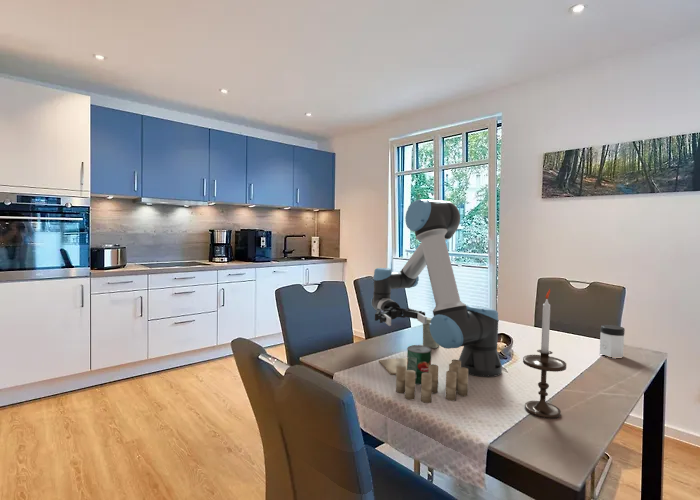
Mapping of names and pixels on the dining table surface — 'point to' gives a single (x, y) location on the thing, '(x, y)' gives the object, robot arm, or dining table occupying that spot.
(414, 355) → the canned tomato
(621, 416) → the dining table surface
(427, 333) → the skincare box
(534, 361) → the candlestick
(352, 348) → the dining table surface
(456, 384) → the dowel field
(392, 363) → the cork trivet
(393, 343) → the dining table surface
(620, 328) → the jar
